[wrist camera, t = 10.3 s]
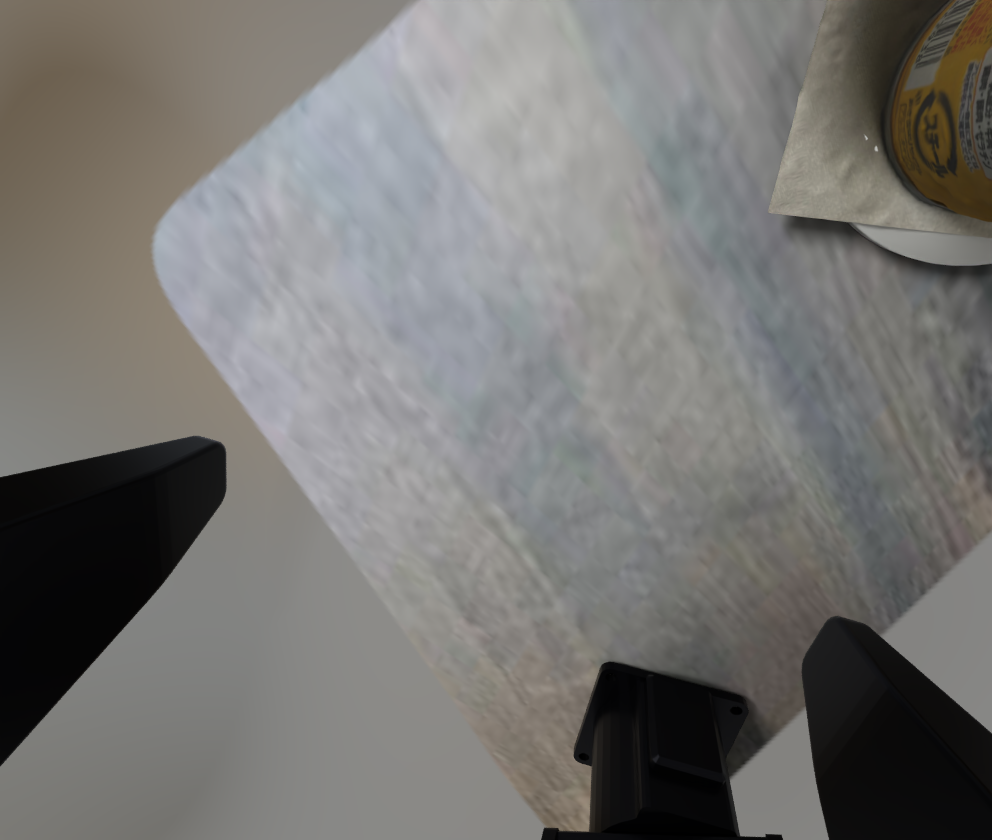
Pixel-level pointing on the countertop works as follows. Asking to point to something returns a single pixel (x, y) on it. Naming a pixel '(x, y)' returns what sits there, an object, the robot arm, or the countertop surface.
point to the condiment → (895, 118)
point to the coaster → (929, 244)
